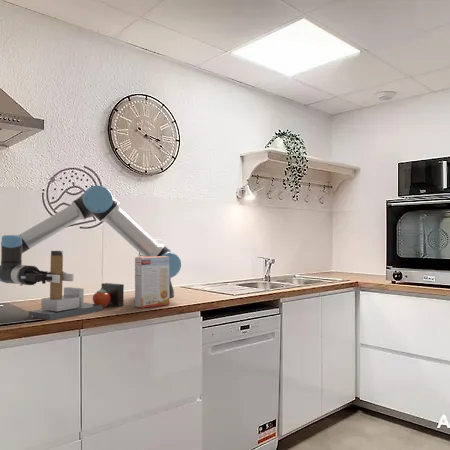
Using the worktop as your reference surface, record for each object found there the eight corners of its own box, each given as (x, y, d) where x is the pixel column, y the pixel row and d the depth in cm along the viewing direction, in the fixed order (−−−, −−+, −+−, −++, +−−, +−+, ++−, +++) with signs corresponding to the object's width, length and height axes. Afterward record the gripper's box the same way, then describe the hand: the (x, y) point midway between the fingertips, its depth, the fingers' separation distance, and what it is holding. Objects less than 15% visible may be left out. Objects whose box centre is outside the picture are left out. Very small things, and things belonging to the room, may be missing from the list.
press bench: (104, 303, 190) (105, 282, 191) (125, 305, 184) (125, 284, 184) (28, 316, 159) (29, 291, 159) (50, 320, 152) (50, 294, 153)
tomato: (111, 305, 185) (111, 286, 185) (109, 308, 178) (110, 288, 178) (93, 305, 184) (93, 286, 184) (91, 308, 177) (91, 289, 177)
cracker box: (162, 303, 192) (162, 255, 192) (169, 305, 187) (170, 256, 188) (133, 306, 183) (134, 256, 183) (141, 308, 178) (141, 257, 179)
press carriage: (67, 304, 172) (68, 250, 172) (83, 306, 167) (84, 250, 168) (41, 309, 161) (42, 250, 162) (56, 311, 157) (57, 251, 157)
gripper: (46, 282, 179) (85, 286, 167) (3, 286, 163) (43, 291, 151) (46, 264, 179) (85, 266, 167) (4, 266, 163) (44, 269, 151)
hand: (65, 278), depth 159 cm, fingers open, 5 cm apart
